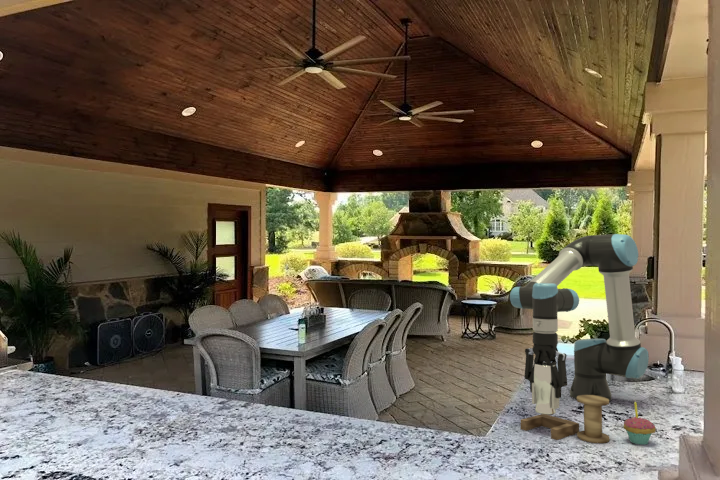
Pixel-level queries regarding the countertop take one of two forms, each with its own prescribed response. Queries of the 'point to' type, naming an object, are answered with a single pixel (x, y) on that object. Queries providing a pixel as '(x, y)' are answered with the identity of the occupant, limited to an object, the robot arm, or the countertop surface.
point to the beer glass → (543, 388)
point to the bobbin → (593, 419)
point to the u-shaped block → (551, 425)
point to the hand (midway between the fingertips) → (545, 405)
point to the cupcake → (639, 428)
